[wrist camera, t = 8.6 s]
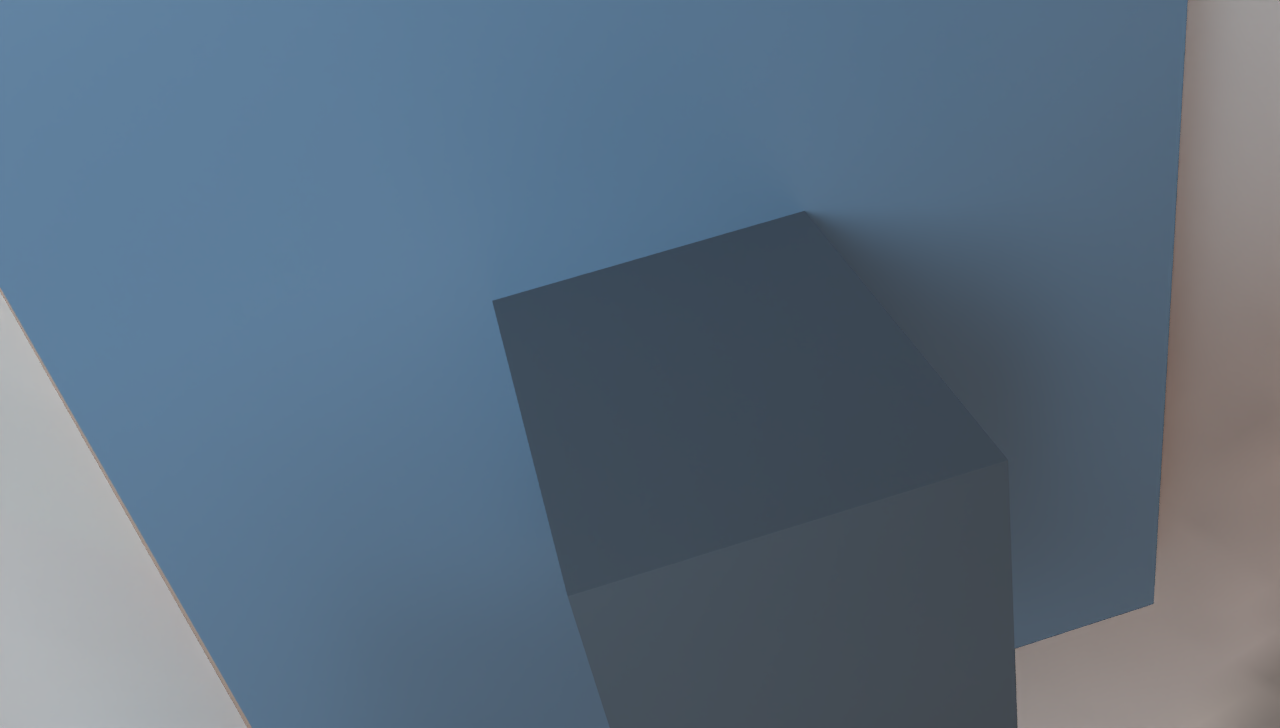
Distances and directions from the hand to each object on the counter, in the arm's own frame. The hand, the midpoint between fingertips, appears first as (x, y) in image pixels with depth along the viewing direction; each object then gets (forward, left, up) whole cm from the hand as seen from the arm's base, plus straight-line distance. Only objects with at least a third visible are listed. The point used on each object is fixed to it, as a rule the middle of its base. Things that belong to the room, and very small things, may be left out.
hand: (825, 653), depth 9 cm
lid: (0, 0, -6) cm, 6 cm away
